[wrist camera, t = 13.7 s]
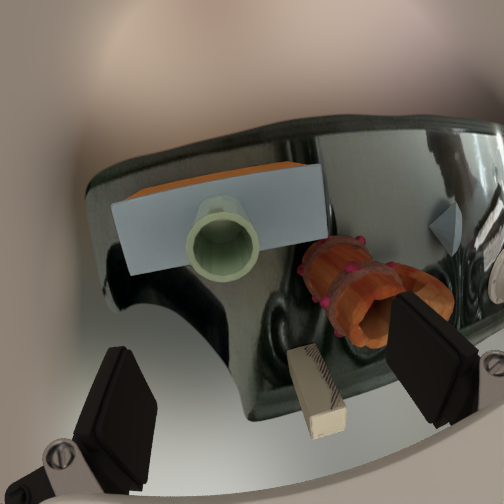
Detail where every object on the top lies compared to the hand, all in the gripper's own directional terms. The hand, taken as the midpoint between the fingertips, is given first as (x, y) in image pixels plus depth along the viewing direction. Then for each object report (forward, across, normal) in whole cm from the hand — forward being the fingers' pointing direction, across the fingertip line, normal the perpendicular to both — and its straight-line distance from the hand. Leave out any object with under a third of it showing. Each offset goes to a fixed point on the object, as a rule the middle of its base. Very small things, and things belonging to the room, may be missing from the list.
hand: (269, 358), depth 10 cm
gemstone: (+25, -29, +6) cm, 38 cm away
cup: (+14, +1, -2) cm, 14 cm away
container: (+24, +1, -2) cm, 24 cm away
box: (+24, -6, +22) cm, 34 cm away
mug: (+25, -13, +8) cm, 29 cm away
